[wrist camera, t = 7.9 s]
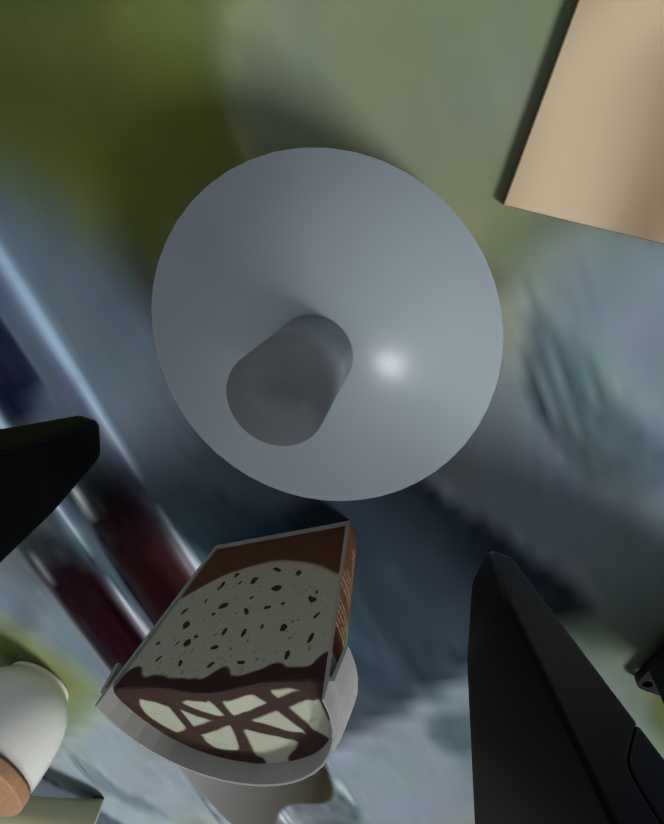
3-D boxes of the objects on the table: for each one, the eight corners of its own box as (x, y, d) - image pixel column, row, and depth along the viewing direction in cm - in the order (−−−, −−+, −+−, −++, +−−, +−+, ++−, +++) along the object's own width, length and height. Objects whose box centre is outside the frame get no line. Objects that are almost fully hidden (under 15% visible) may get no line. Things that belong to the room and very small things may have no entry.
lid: (567, 205, 12) (638, 206, 8) (430, 523, 18) (427, 624, 14) (173, 109, 14) (47, 64, 9) (161, 436, 19) (80, 504, 15)
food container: (238, 616, 30) (155, 787, 21) (196, 548, 28) (85, 706, 19) (410, 597, 26) (395, 801, 17) (374, 515, 24) (337, 699, 15)
